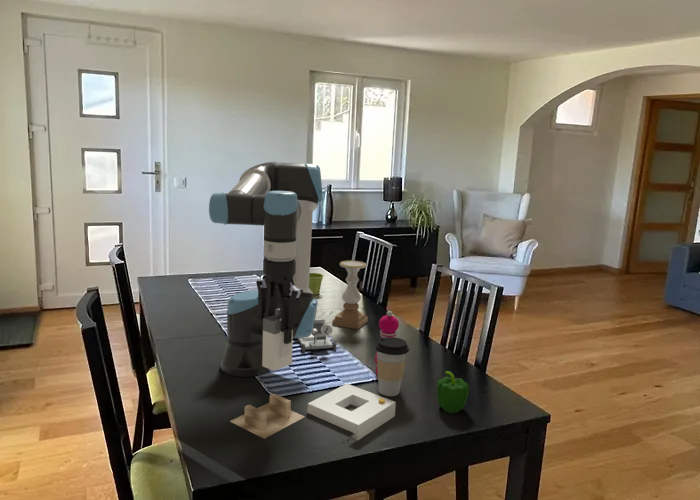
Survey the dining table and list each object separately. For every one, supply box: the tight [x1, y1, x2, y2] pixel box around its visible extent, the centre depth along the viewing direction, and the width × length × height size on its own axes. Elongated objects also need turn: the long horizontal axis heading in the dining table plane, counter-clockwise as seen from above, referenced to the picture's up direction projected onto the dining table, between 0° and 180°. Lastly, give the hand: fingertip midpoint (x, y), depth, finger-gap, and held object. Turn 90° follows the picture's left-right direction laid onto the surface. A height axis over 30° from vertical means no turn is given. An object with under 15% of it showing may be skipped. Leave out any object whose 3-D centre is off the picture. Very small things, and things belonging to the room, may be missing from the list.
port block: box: [307, 383, 397, 441], centre depth 142 cm, size 16×16×5 cm
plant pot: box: [309, 272, 324, 296], centre depth 254 cm, size 9×9×9 cm
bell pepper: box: [436, 370, 470, 414], centre depth 149 cm, size 8×8×10 cm
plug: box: [262, 308, 294, 372], centre depth 133 cm, size 4×6×14 cm, turn 141°
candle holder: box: [331, 260, 369, 330], centre depth 214 cm, size 11×11×24 cm
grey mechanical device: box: [293, 318, 337, 353], centre depth 191 cm, size 18×10×12 cm
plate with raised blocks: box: [229, 393, 306, 440], centre depth 136 cm, size 12×14×6 cm
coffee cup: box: [375, 337, 410, 397], centre depth 157 cm, size 9×9×15 cm
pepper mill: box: [374, 310, 400, 376], centre depth 169 cm, size 7×7×20 cm
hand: (277, 352), depth 134 cm, fingers closed on plug, 4 cm apart
